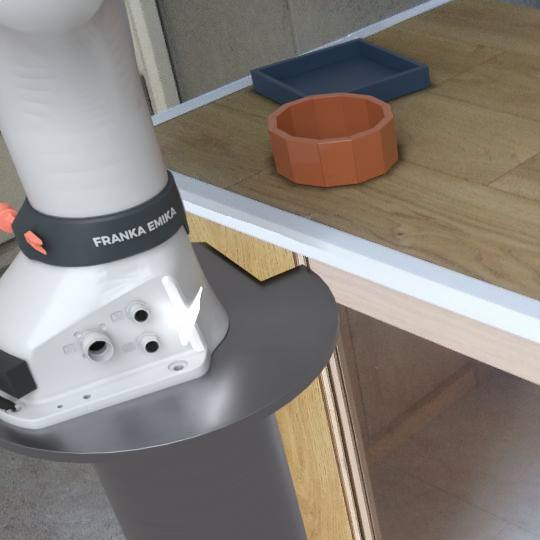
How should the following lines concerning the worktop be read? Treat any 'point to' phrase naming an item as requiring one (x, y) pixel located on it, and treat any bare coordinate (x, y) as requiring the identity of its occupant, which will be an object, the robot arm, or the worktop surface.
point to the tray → (342, 73)
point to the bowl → (333, 139)
